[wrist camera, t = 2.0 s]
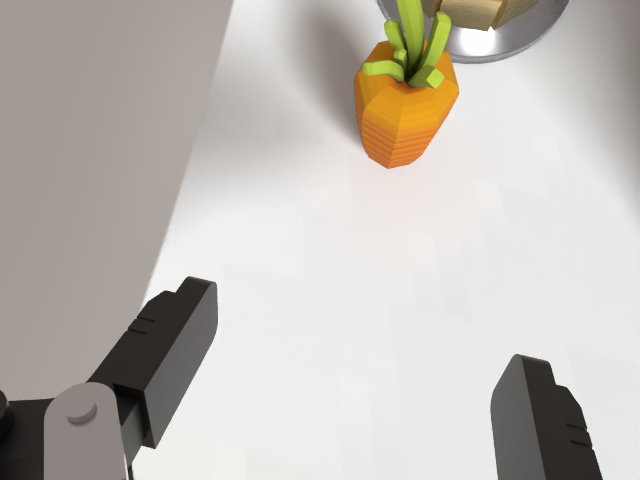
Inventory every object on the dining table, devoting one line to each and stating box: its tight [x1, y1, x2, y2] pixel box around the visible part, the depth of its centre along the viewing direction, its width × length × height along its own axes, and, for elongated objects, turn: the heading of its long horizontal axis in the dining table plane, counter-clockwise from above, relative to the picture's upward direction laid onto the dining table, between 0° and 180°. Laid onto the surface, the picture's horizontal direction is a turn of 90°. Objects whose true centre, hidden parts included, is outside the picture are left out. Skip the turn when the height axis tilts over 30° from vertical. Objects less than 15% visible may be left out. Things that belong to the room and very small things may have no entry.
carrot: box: [354, 0, 459, 169], centre depth 24 cm, size 5×5×15 cm
